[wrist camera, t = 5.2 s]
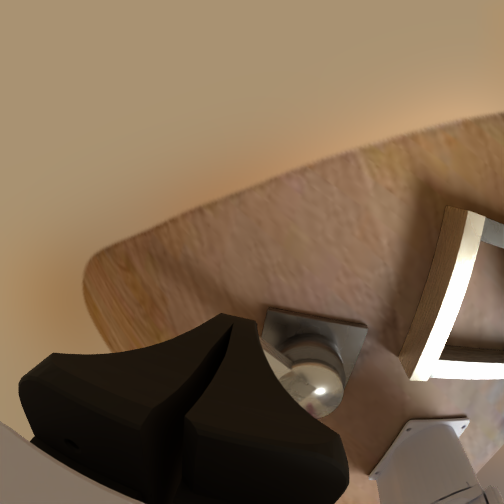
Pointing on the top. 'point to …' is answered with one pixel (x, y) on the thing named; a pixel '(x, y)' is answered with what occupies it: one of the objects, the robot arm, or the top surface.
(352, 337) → the winch post
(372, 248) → the top surface
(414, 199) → the top surface
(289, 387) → the crank
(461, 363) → the bay
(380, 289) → the top surface
